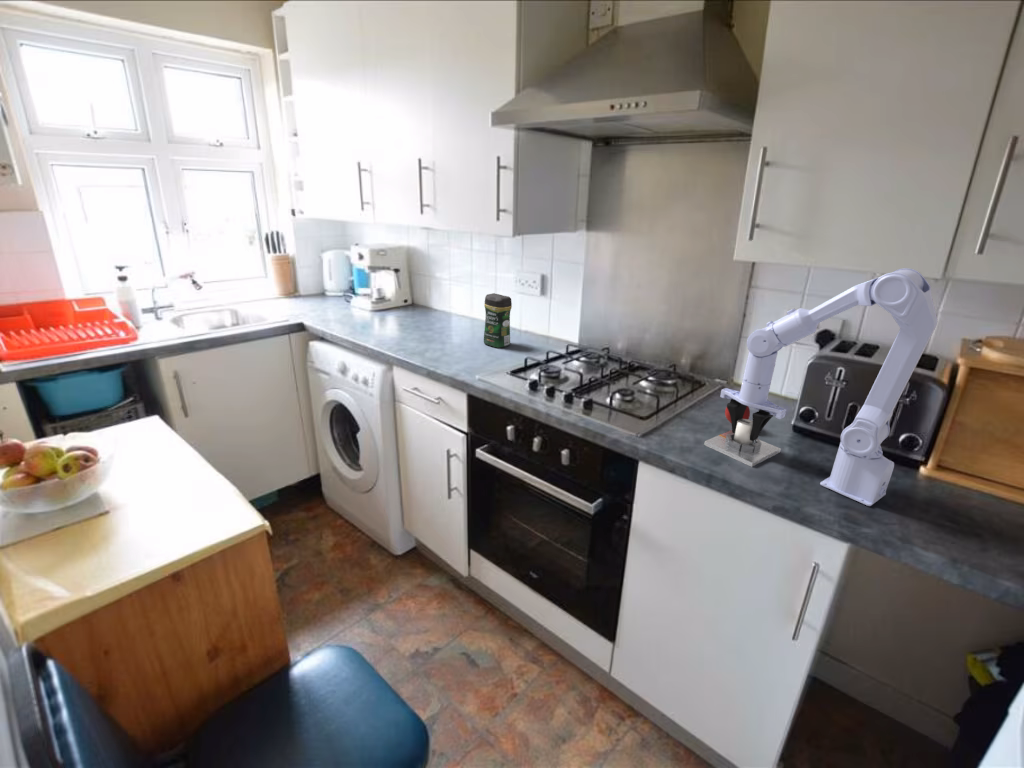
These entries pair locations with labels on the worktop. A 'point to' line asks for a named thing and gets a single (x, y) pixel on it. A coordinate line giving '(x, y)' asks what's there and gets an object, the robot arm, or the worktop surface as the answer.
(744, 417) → the onion
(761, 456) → the hub plate
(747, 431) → the knob
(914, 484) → the worktop surface
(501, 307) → the coffee jar
